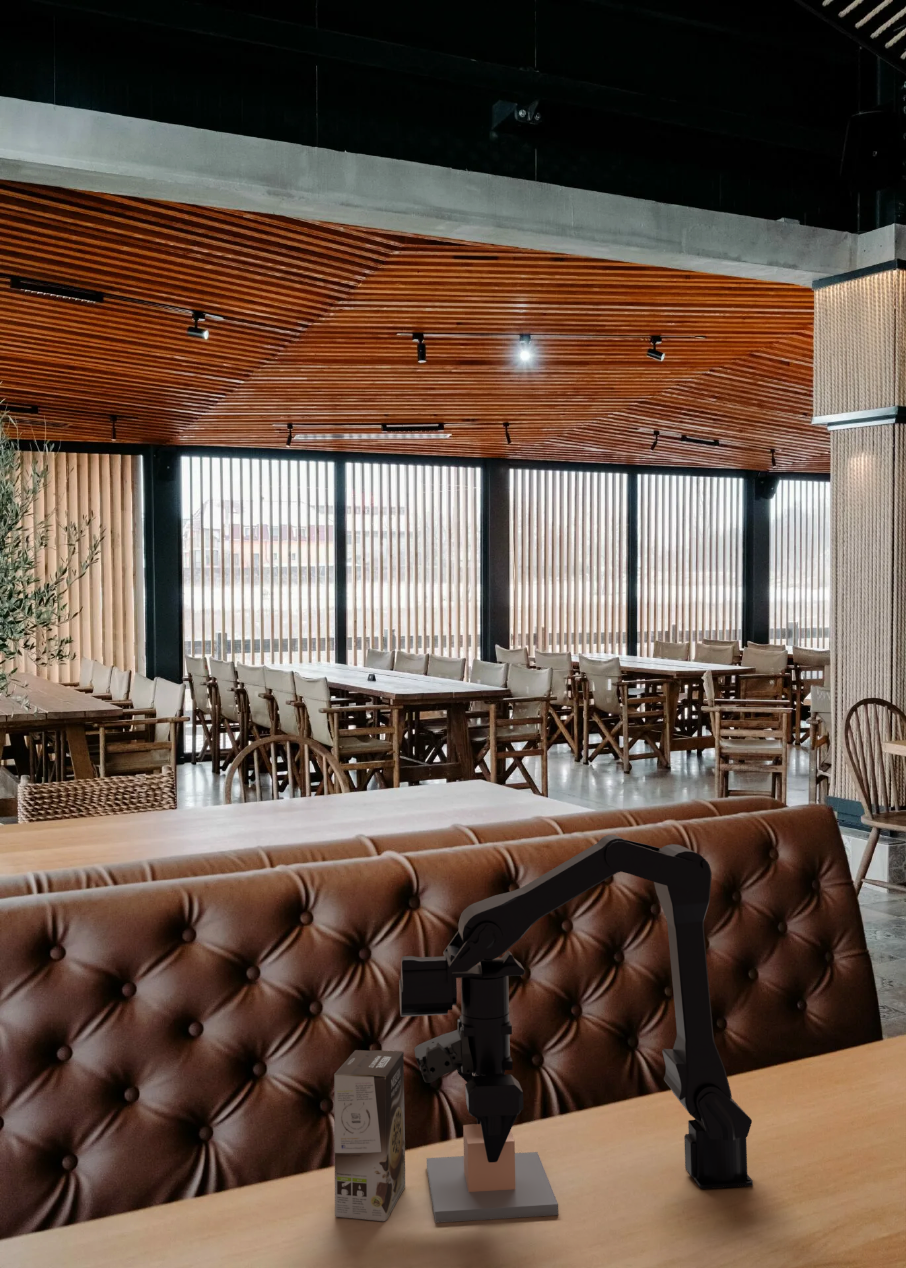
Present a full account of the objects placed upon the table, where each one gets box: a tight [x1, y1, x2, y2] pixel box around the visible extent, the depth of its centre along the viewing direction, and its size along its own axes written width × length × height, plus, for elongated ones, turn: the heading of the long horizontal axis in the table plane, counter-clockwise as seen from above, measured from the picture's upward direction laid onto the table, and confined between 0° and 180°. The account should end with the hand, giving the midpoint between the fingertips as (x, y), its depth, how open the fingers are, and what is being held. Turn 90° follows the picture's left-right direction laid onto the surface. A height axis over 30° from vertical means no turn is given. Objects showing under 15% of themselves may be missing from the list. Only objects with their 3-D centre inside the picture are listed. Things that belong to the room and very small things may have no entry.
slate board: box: [426, 1151, 559, 1224], centre depth 130 cm, size 14×14×1 cm
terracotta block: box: [462, 1123, 516, 1192], centre depth 130 cm, size 6×6×6 cm
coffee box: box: [333, 1049, 406, 1222], centre depth 128 cm, size 9×6×16 cm
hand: (487, 1145), depth 130 cm, fingers open, 9 cm apart
